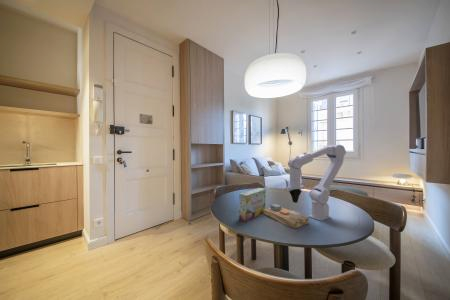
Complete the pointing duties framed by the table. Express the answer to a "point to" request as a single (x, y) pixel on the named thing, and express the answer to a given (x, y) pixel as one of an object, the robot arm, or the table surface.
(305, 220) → the key console
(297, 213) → the cream key
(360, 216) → the table surface
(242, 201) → the snack box
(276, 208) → the slate key
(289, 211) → the terracotta key
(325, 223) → the table surface
